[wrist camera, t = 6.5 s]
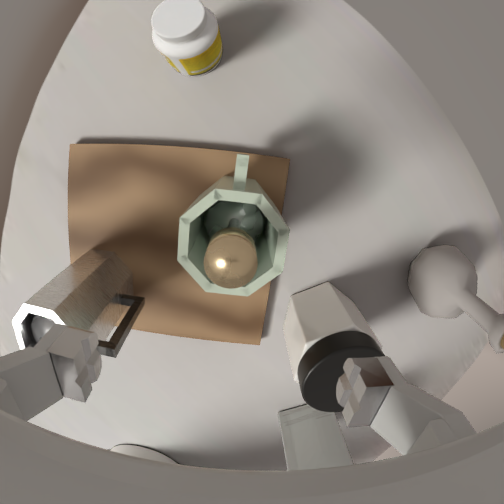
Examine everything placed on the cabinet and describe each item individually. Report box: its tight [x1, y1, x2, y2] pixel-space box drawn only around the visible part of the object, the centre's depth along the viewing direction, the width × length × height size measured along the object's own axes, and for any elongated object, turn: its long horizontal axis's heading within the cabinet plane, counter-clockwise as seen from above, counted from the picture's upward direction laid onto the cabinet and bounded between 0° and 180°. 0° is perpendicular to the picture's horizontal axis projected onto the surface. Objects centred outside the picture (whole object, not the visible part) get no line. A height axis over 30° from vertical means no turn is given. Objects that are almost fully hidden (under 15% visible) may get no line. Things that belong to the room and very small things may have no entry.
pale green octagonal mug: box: [177, 153, 290, 296], centre depth 24 cm, size 10×7×10 cm
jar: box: [283, 282, 385, 412], centre depth 29 cm, size 9×8×12 cm
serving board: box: [68, 144, 290, 345], centre depth 31 cm, size 21×23×1 cm
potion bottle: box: [407, 245, 504, 353], centre depth 25 cm, size 9×9×18 cm
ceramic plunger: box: [204, 200, 263, 289], centre depth 22 cm, size 5×5×10 cm
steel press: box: [12, 249, 145, 358], centre depth 25 cm, size 7×10×13 cm
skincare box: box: [278, 404, 354, 470], centre depth 34 cm, size 8×6×15 cm
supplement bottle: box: [151, 0, 223, 77], centre depth 20 cm, size 5×5×10 cm
